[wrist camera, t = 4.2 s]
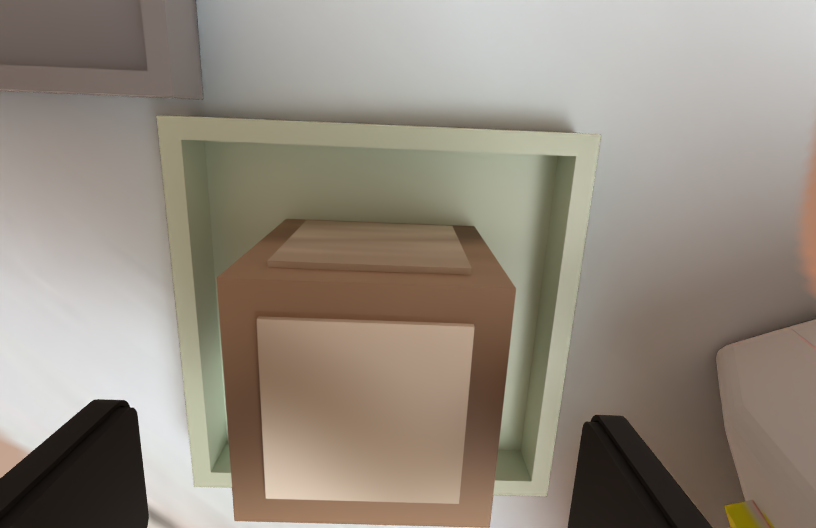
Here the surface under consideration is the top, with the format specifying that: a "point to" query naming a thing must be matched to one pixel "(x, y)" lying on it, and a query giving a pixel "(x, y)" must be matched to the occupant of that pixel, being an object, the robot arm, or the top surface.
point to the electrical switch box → (772, 426)
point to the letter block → (365, 373)
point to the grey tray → (101, 47)
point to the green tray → (389, 203)
